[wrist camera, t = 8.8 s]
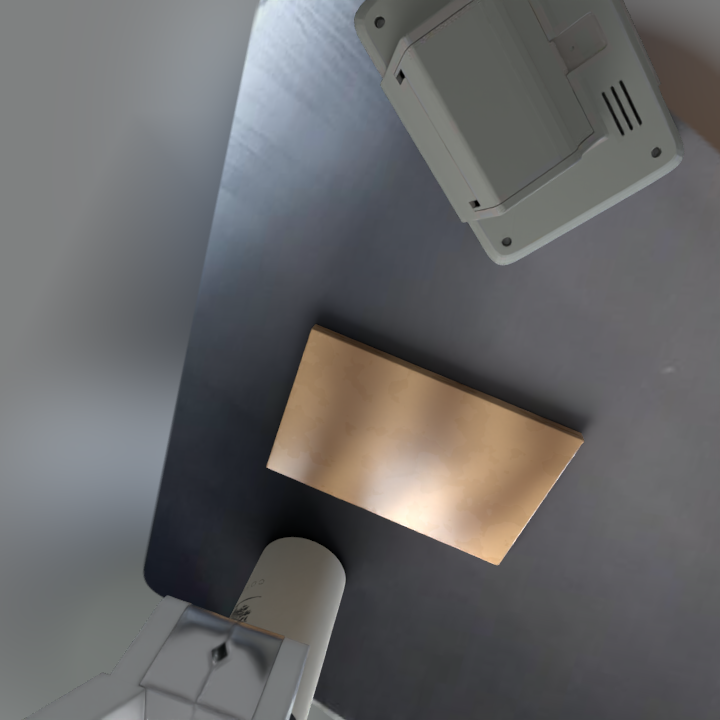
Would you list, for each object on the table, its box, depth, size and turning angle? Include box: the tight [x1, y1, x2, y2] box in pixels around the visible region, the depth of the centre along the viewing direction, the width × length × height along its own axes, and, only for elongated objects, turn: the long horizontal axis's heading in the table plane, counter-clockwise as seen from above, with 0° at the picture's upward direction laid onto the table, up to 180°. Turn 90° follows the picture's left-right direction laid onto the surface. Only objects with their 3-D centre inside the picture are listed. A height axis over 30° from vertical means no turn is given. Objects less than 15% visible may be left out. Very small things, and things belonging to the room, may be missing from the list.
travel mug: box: [230, 537, 346, 720], centre depth 37 cm, size 8×8×18 cm
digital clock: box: [354, 0, 684, 265], centre depth 26 cm, size 16×9×11 cm
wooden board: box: [266, 324, 584, 565], centre depth 37 cm, size 20×13×1 cm, turn 71°
